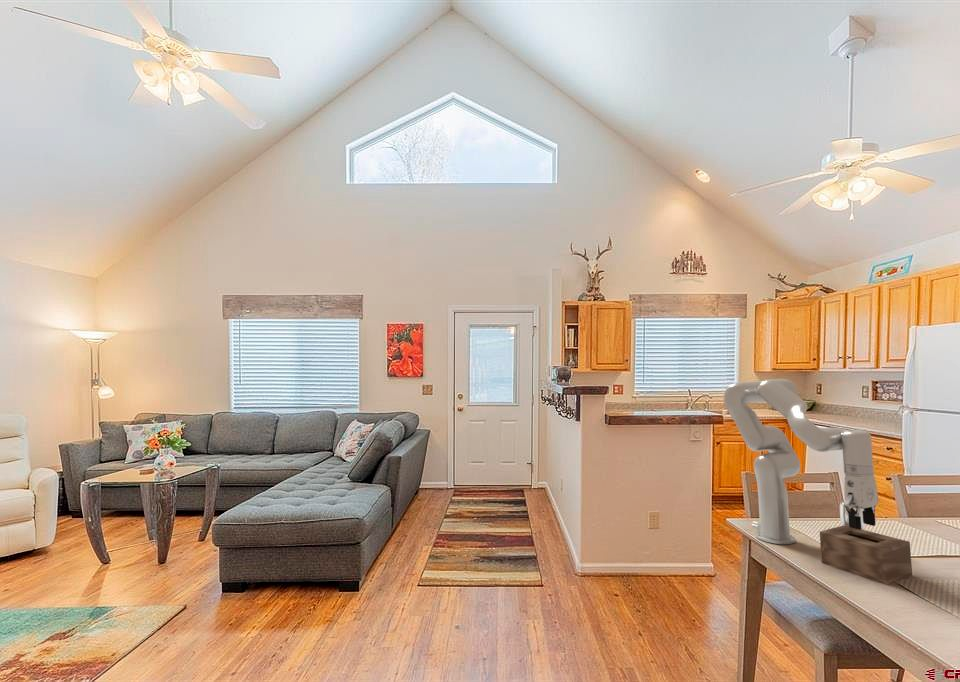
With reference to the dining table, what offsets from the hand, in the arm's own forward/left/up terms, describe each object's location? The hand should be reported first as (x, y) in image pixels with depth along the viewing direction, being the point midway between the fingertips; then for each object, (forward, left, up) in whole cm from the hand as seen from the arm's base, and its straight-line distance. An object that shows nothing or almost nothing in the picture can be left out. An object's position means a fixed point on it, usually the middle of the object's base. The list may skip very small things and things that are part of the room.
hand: (862, 526), depth 152 cm
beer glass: (-12, +17, -13) cm, 25 cm away
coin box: (0, 0, -13) cm, 13 cm away
